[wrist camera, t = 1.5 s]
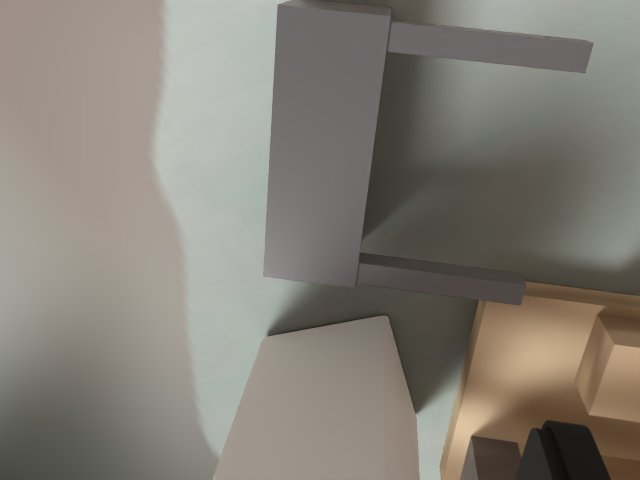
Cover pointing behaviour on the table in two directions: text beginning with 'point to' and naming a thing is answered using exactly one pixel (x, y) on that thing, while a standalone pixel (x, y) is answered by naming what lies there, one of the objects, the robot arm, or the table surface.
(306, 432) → the milk carton
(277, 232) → the grey bracket
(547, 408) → the stacked wooden blocks
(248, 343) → the table surface
